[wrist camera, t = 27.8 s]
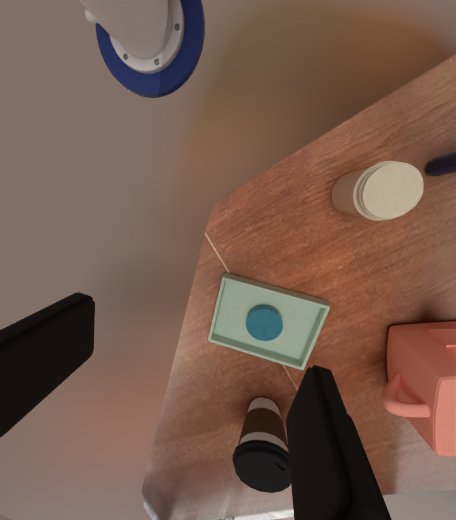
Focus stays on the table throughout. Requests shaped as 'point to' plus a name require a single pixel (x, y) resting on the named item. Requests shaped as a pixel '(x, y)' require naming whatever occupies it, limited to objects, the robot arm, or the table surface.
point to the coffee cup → (263, 449)
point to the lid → (264, 322)
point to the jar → (378, 191)
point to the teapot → (424, 381)
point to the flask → (441, 165)
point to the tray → (289, 306)
